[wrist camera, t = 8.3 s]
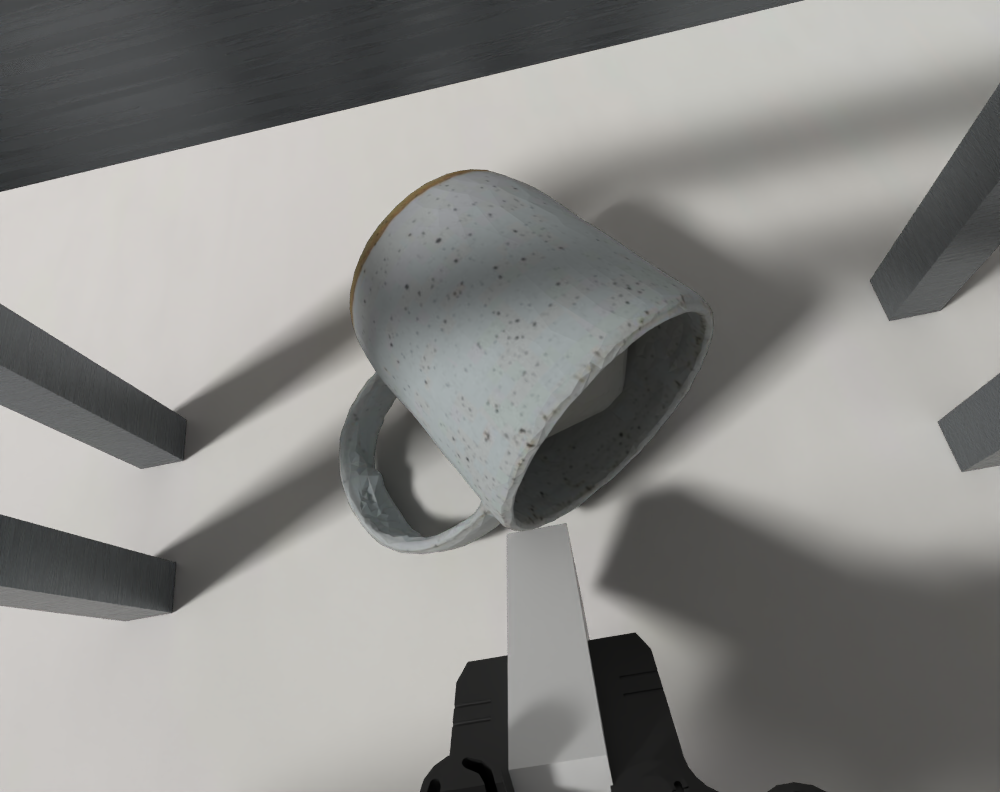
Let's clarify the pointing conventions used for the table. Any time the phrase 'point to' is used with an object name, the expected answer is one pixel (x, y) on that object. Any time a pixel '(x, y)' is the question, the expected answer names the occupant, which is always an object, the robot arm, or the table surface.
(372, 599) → the table surface
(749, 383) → the table surface
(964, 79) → the table surface
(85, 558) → the frame
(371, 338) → the ceramic mug
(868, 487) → the table surface
